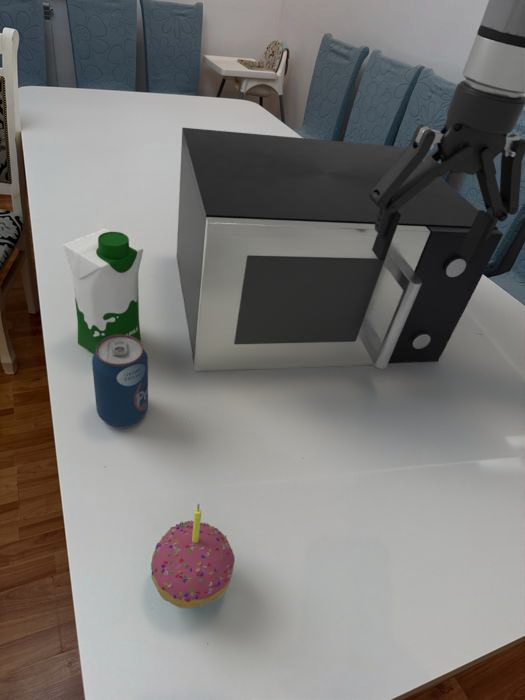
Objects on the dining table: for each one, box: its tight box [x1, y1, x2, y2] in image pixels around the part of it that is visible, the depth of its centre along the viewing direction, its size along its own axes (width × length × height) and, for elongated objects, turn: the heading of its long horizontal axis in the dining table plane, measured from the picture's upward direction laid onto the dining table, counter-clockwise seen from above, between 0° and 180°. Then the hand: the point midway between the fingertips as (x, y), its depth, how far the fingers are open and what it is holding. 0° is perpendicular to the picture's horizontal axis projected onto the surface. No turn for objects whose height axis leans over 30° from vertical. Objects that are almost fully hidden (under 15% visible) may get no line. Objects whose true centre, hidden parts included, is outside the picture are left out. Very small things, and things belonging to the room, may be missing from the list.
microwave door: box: [193, 217, 430, 372], centre depth 73 cm, size 8×32×26 cm, turn 102°
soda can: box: [91, 335, 149, 429], centre depth 66 cm, size 7×7×12 cm
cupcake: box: [150, 503, 236, 609], centre depth 50 cm, size 9×8×12 cm
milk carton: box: [62, 228, 144, 355], centre depth 74 cm, size 9×9×20 cm
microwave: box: [176, 127, 504, 364], centre depth 88 cm, size 35×44×26 cm
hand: (423, 256), depth 68 cm, fingers open, 13 cm apart
